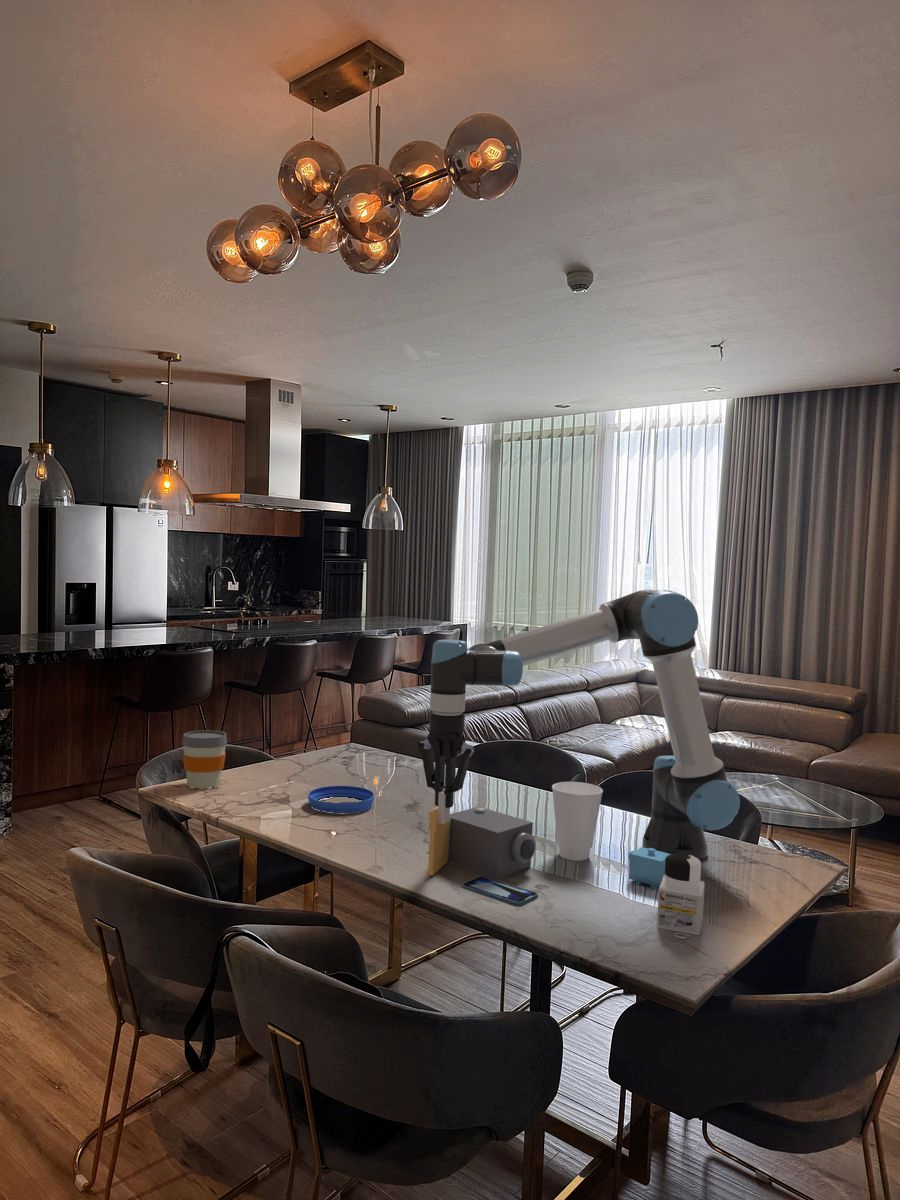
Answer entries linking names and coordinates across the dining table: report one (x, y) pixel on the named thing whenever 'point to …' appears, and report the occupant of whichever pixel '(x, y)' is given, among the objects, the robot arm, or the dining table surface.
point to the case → (490, 842)
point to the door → (438, 842)
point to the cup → (576, 817)
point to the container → (681, 895)
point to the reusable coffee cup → (204, 757)
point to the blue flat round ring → (341, 791)
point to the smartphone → (500, 891)
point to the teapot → (647, 866)
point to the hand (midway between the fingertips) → (443, 821)
